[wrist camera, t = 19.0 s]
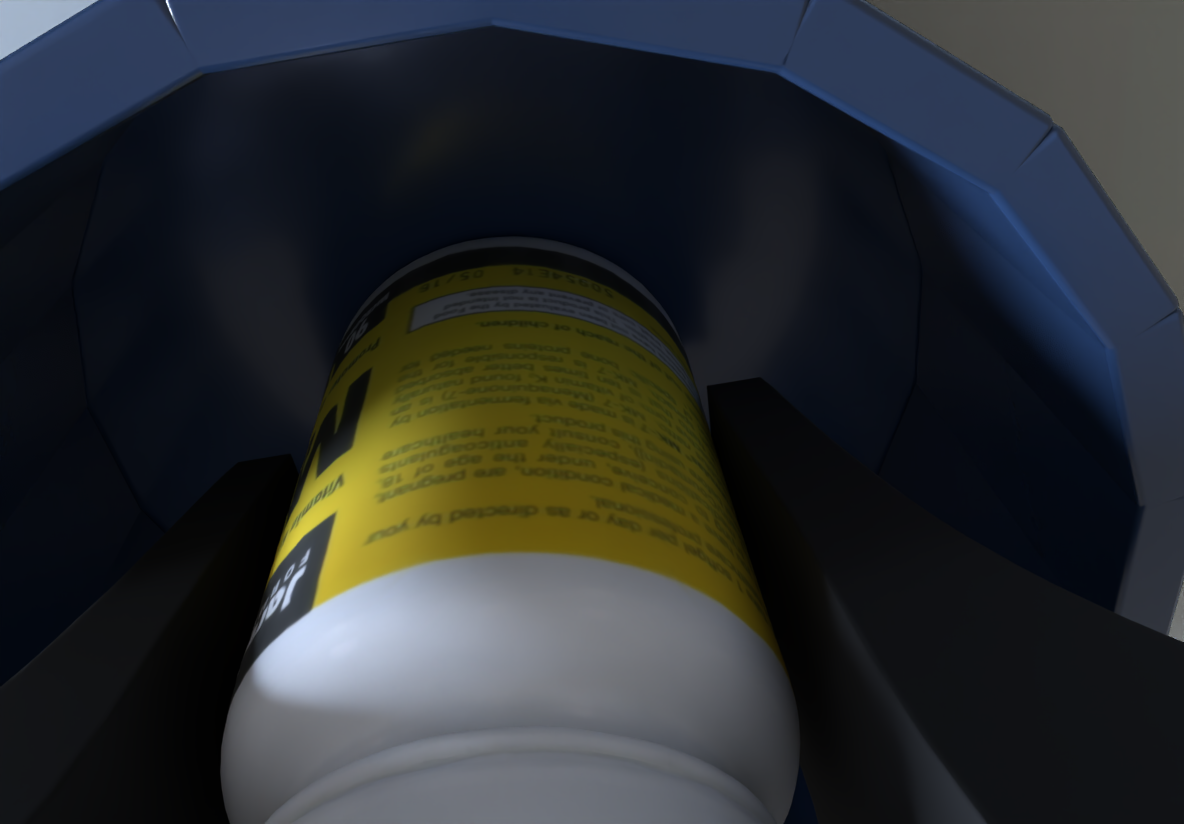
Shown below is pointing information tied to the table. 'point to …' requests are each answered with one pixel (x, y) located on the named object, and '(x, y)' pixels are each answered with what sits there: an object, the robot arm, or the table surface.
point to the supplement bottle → (511, 573)
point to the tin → (583, 219)
